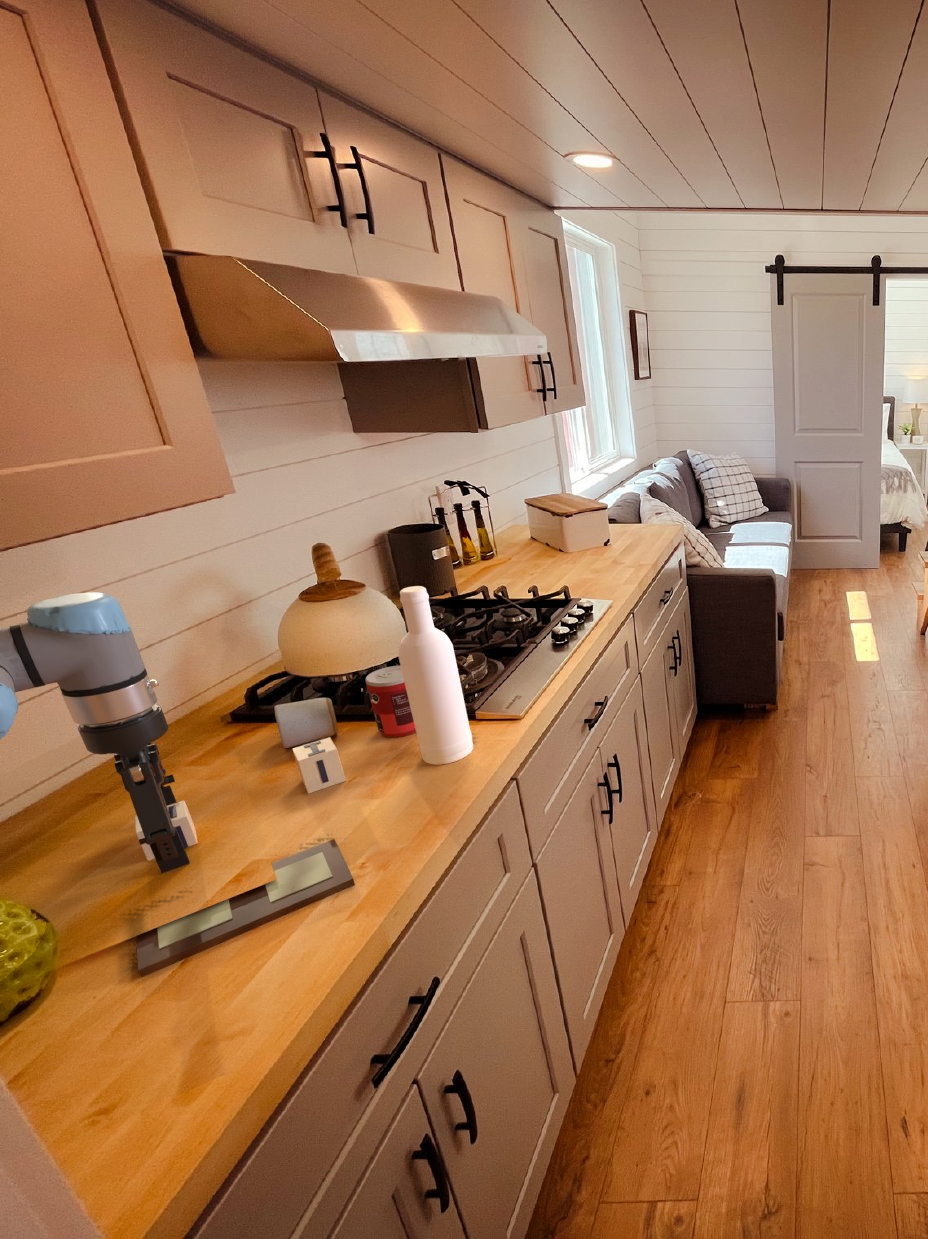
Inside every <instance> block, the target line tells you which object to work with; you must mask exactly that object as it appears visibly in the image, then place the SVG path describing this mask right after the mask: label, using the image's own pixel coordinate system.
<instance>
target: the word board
mask: <svg viewBox="0 0 928 1239" xmlns="http://www.w3.org/2000/svg"><path fill="white" fill-rule="evenodd" d="M271 866H272V869H273V872H274V876H275V878H276V879H273V880H271V881H269V882H266V883H264V884H261V885H258V886H256V887H254V888H251V889H249V890H246V891H244V892H241V893H239V894H237V895H234V896H231V897H229V898H227V899H224V900H221V901H218V902H217V903H214V904H211V905H210V906H206V907H204V908H202V909H199V910H197V911H193V912H192V913H189V914H187V915H184V916H181V917H178V918H177V919H174V920H171V921H169V922H167V923H164V924H162V925H159V926H157V927H154V928H151V929H149V930H147V931H144V932H142V933H139V934H137V935H135V937H136V938H135V939H136V960H137V972H138V974H139V976H140V978H143V977H145V976H148V975H150V974H153V973H154V972H156V971H159V970H161V969H163V968H166V967H168V966H171V965H173V964H175V963H178V962H179V961H183V960H184V959H187V958H189V957H191V956H194V955H196V954H198V953H201V952H203V951H205V950H207V949H209V948H212V947H214V946H217V945H219V944H221V943H223V942H226V941H228V940H231V939H232V938H235V937H238V936H240V935H242V934H245V933H248V932H249V931H251V930H254V929H256V928H259V927H261V926H263V925H265V924H267V923H270V922H272V921H275V920H276V919H279V918H281V917H284V916H286V915H289V914H291V913H293V912H295V911H298V910H300V909H302V908H305V907H307V906H309V905H311V904H314V903H316V902H319V901H321V900H323V899H326V898H328V897H330V896H333V895H334V894H335V895H336V894H337V893H339V892H342V891H344V890H346V889H348V888H351V887H353V886H355V885H356V884H355V880H354V877H353V876H352V875H353V874H352V873H351V871H350V869H349V866H348V865H347V862H346V860H345V858H344V856H343V854H342V851H341V850H340V847H339V845H338V843H337V841H336V839H335V838H333V839H330V840H327V841H325V842H322V843H320V844H317V845H315V846H312V847H309V848H307V849H304V850H302V851H299V852H296V853H294V854H290V855H289V856H285V857H283V858H281V859H278V860H276V861H273V862H271Z"/></svg>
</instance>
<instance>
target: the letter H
mask: <svg viewBox="0 0 928 1239" xmlns="http://www.w3.org/2000/svg"><path fill="white" fill-rule="evenodd" d="M176 802H177V803H174V804H171V805H168V806H167V809H168V812H169V815H170V818H171V821H172V824H173V826H174V827H175V828H176V829H177V831H178V834H179V836H180V839H181V841H182V844H183V846H184V849H187V848H189V847H191V846H195V845H198V843H199V842H198V836H197V832H196V827H195V824H194V821H193V819H192V815H191V814H190V811H189V807H188V805H187V803H186V801H185V800H181V801H176ZM134 828H135V830H134V831H135V836H136V838H137V840H138V841H139V839H142V838H145V837H144V834H143V831H142V828H141V825H140V823H139V820H138V817H137V814H136V815H134ZM140 847H141V849H142V852H143V854H144V856H145V859H146V861H148V862H149V861H151V860H156V859H155V857H154V854H153V852H152V850H151V847H150V845H148V844H146V843H145V844H142V845H140Z"/></svg>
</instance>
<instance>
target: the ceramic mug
mask: <svg viewBox="0 0 928 1239" xmlns="http://www.w3.org/2000/svg"><path fill="white" fill-rule="evenodd" d="M274 717H275V720H276V726H277V729H278V735H279V737H280V741H281V746H282V748H283V749H289V748H292V747H293V748H294V747H298V746H302V745H305V744H309V743H313V742H316V741H319V740H323V739H326V738H329V737H330V738H331V737H332V736H334V735H335V736H336V734H338V732H339V726H338V722H337V718H336V713H335V710H334V705H333V702H332V699H331V698H329V697H316V698H312V699H305V700H300V701H293V702H288V703H282V704H276V705H274Z"/></svg>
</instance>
